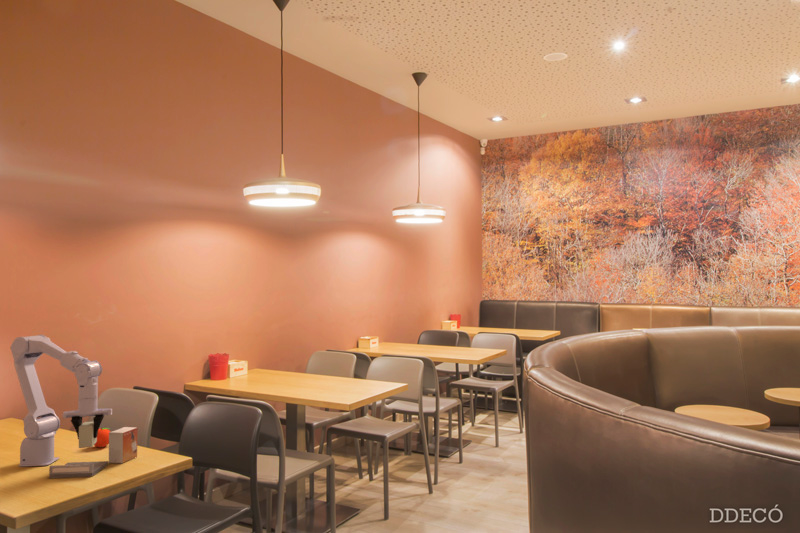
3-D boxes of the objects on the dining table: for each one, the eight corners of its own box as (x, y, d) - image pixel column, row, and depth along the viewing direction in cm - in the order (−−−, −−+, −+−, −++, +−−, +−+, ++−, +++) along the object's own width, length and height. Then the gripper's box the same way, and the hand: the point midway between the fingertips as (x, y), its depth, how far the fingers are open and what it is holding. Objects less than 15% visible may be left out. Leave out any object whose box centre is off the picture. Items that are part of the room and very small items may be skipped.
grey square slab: (48, 478, 176) (49, 466, 176) (68, 466, 188) (68, 455, 188) (92, 476, 177) (92, 465, 178) (108, 464, 190) (108, 453, 190)
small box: (122, 464, 190) (122, 432, 191) (108, 463, 191) (108, 432, 192) (137, 456, 198) (138, 427, 199) (124, 456, 199) (124, 426, 200)
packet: (78, 448, 185) (78, 426, 185) (83, 442, 191) (83, 422, 192) (92, 447, 186) (92, 425, 186) (96, 441, 193) (96, 421, 193)
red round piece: (111, 442, 217) (111, 424, 217) (117, 446, 212) (117, 427, 212) (88, 446, 211) (89, 428, 211) (94, 450, 206) (94, 431, 206)
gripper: (114, 393, 195) (113, 433, 195) (67, 396, 191) (66, 436, 190) (110, 397, 188) (109, 438, 188) (61, 400, 184) (60, 442, 183)
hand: (87, 437), depth 189 cm, fingers closed on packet, 4 cm apart
